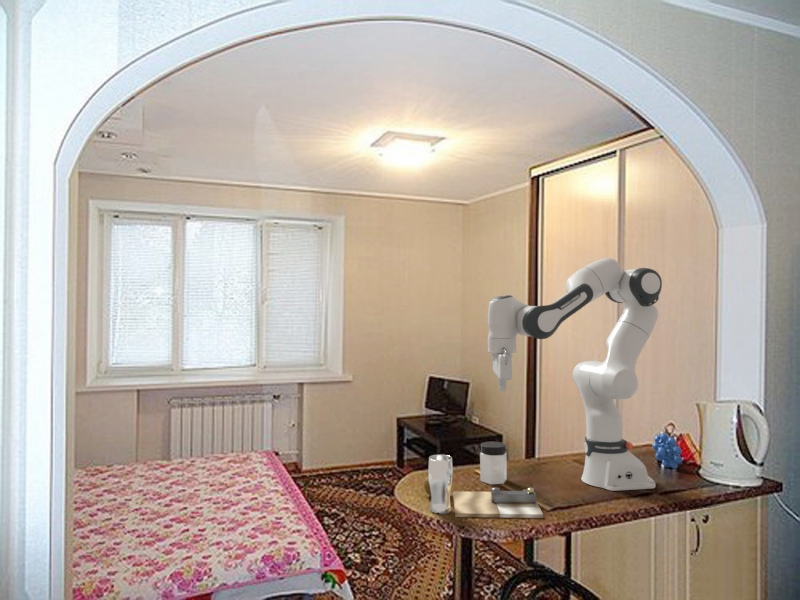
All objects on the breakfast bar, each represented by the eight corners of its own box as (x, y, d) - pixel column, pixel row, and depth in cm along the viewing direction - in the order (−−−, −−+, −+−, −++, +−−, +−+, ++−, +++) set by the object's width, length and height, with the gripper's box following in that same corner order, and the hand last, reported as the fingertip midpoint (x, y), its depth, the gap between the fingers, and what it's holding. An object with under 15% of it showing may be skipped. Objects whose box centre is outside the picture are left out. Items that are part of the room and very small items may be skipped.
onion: (452, 493, 179) (452, 467, 179) (443, 501, 172) (443, 475, 172) (430, 490, 182) (430, 464, 182) (419, 498, 175) (419, 471, 175)
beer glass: (425, 512, 163) (425, 459, 163) (432, 504, 170) (432, 453, 170) (449, 516, 161) (448, 462, 161) (455, 507, 167) (455, 455, 167)
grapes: (644, 465, 208) (644, 431, 208) (657, 462, 211) (657, 429, 211) (673, 473, 197) (673, 438, 197) (686, 470, 201) (686, 436, 201)
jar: (483, 485, 187) (483, 448, 186) (477, 477, 195) (476, 441, 195) (510, 483, 188) (510, 447, 188) (502, 476, 196) (502, 440, 196)
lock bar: (492, 503, 167) (491, 490, 167) (490, 499, 170) (490, 486, 170) (535, 503, 166) (535, 490, 166) (533, 499, 170) (533, 486, 169)
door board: (531, 495, 177) (531, 484, 177) (543, 517, 159) (543, 505, 159) (452, 494, 178) (452, 483, 178) (455, 516, 160) (455, 504, 160)
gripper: (517, 349, 172) (517, 396, 172) (507, 344, 193) (507, 385, 193) (495, 349, 173) (495, 396, 173) (488, 344, 193) (488, 385, 193)
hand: (502, 390), depth 183 cm, fingers closed
